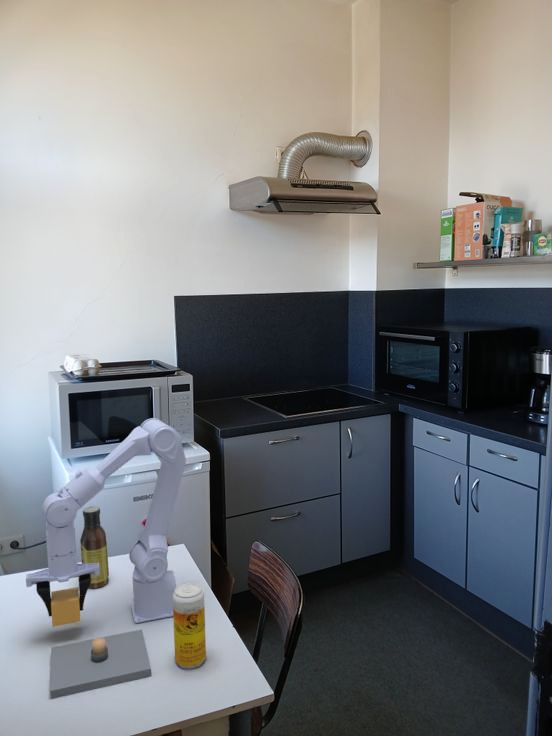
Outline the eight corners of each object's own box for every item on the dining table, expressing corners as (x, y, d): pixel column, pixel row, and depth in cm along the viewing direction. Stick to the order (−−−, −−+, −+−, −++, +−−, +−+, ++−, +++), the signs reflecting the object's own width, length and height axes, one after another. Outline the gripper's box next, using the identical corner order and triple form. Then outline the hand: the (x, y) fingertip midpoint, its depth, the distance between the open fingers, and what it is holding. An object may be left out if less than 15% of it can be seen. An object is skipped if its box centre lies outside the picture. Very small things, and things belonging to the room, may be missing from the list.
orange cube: (79, 608, 131) (78, 586, 130) (80, 621, 125) (79, 599, 125) (53, 613, 129) (51, 591, 128) (52, 626, 124) (51, 604, 123)
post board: (142, 635, 127) (141, 614, 126) (151, 675, 114) (150, 651, 113) (51, 654, 121) (50, 631, 120) (50, 698, 108) (48, 673, 107)
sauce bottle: (90, 576, 153) (85, 502, 150) (113, 578, 152) (109, 503, 150) (78, 589, 147) (73, 512, 144) (102, 591, 146) (98, 513, 143)
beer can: (180, 674, 114) (178, 600, 112) (171, 656, 120) (168, 586, 118) (210, 664, 117) (208, 592, 115) (199, 648, 123) (197, 579, 120)
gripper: (23, 564, 119) (28, 628, 121) (98, 552, 124) (102, 613, 126) (25, 550, 126) (30, 610, 127) (97, 539, 130) (100, 597, 132)
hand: (66, 611), depth 127 cm, fingers closed on orange cube, 5 cm apart
